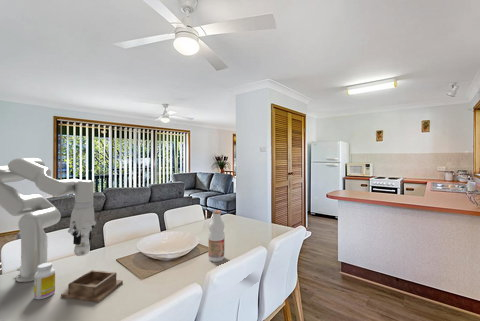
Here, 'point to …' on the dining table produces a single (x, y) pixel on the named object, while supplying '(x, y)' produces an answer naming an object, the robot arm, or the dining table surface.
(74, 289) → the walnut caddy
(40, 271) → the supplement bottle
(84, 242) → the plastic bottle
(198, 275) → the dining table surface
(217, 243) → the fruit juice
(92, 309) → the dining table surface
